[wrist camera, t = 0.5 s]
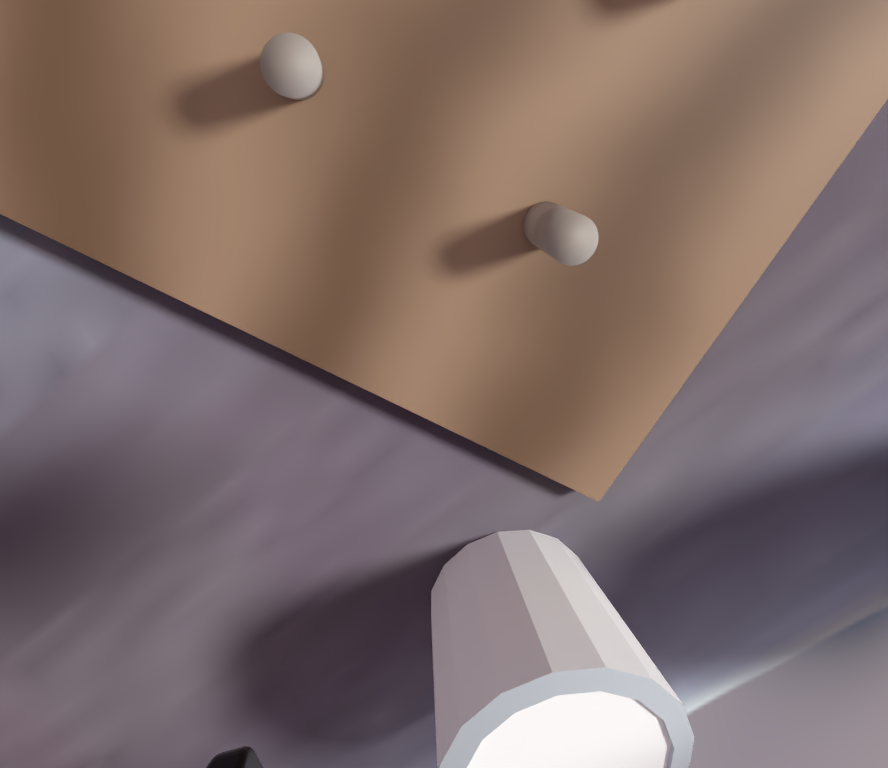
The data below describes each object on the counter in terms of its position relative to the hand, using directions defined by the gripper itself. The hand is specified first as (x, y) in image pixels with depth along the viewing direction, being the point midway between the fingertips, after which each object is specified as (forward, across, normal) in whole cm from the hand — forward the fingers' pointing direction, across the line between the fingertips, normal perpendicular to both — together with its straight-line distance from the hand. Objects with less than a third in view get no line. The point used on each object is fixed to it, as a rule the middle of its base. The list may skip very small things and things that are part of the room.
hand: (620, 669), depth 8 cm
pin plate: (+13, -3, -8) cm, 15 cm away
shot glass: (+13, +1, +10) cm, 16 cm away
